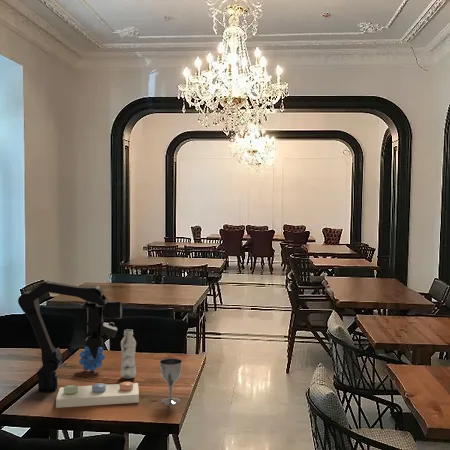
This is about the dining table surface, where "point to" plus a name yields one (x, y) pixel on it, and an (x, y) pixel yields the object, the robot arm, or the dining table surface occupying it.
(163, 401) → the wine glass
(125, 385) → the button terracotta
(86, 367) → the grapes
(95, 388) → the button blue
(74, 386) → the button sage
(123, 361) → the plastic bottle
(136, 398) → the console
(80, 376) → the dining table surface
